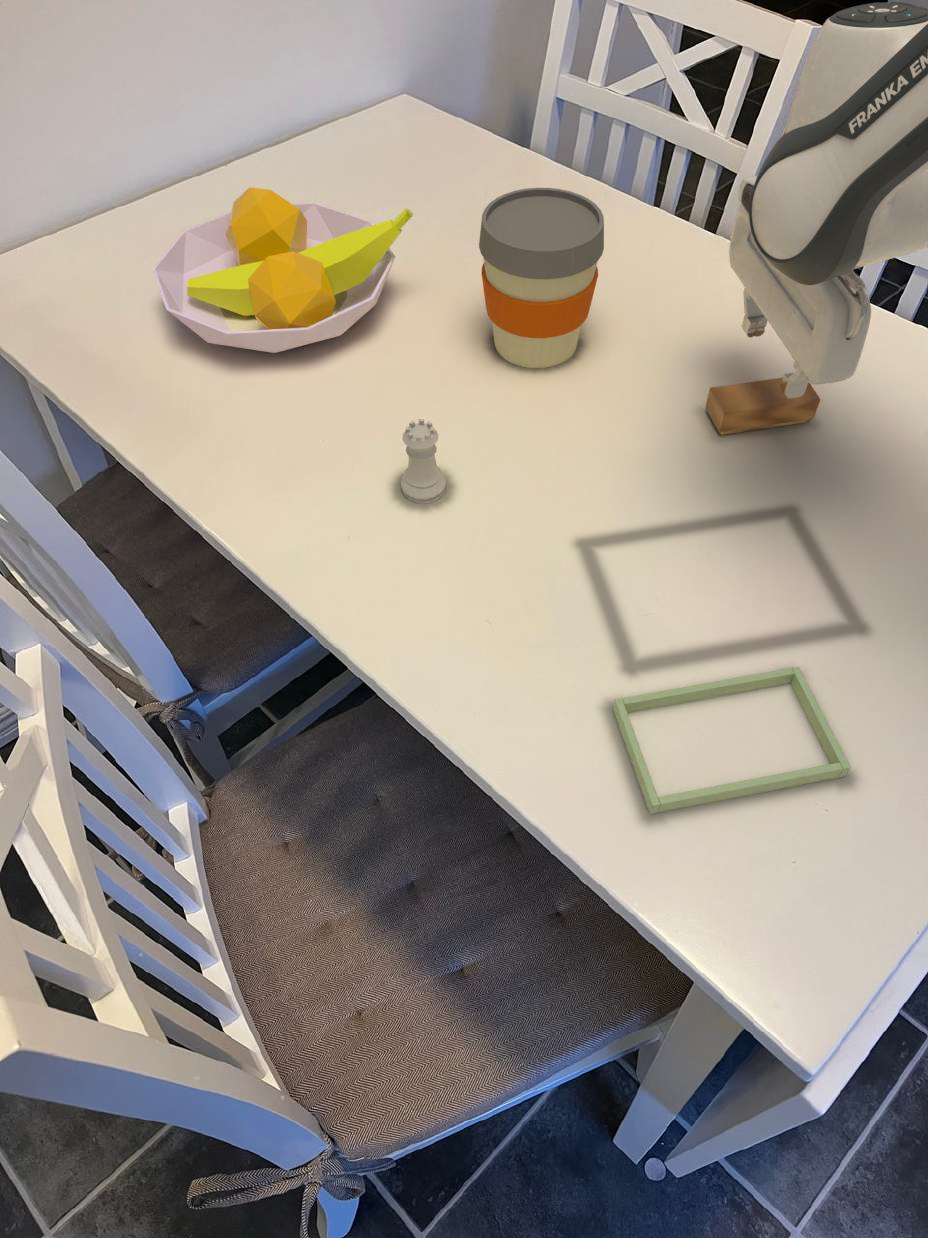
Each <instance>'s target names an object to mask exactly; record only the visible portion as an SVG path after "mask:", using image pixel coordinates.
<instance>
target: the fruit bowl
mask: <svg viewBox="0 0 928 1238" xmlns="http://www.w3.org/2000/svg"><path fill="white" fill-rule="evenodd" d="M413 216H414V213H413V212H412V211H411V210H410V208H406V207H405V208H404V209H403V211H401V212H400V213H399V214H398V216H396V218H395V219H394V220H392V219H389V220H385V221H381V222H379V223H376V224H374V223H373V221H372V220H369V219H367V218H363V217H360V216H357V215H354V214H351V213H347V212H345V211H342V210H338V209H335V208H334V207H333V208H332V207H330V206H326V205H323V204H321V203H317V202H305V203H304V202H302V203H301V202H300V203H291V202H290V201H288V200H286V199H285V198H284V197H283V196H281V195H279V194H278V193H276V192H274V191H273V190H272V189H268V188H258V187H250V186H249V187H248V188H247V189H246V190H245V191H243V193H242V194H240V195H239V196H238V198H236V199H235V200H234V201H233V203H232V207H231V210H230V212H226V213H225V214H222V215H220V216H217V217H215V218H212V219H209V220H207V221H205V222H202V223H200V224H199V223H198V224H197V225H194V226H191V227H189V228H187V229H184V230H182V232H181V233H180V234H179V236H178V237H177V238H176V239H175V241H174V242H173V243H172V244H171V246H170V247H169V248H168V249H167V251H166V252H165V253H164V254H163V255H162V257H161V258H160V259H159V261H158V262H157V263H156V264H155V265H154V267H153V268H152V269H151V270H152V271H151V272H152V273H153V277H154V279H155V282H156V284H157V288H158V290H159V293H160V297H161V298H162V300H163V304H164V307H165V310H166V311H167V312H168V313H170V314H171V315H172V316H173V317H174V318H176V319H177V320H178V321H180V322H181V323H183V324H184V325H185V326H186V327H187V328H189V329H190V330H191V331H192V332H194V333H195V334H196V335H197V336H198V337H200V338H202V339H203V340H204V341H205V342H206V343H208V344H213V345H221V346H226V347H227V346H228V347H232V348H240V349H247V350H253V351H259V352H266V353H272V354H276V353H277V354H278V353H280V352H284V351H287V350H293V349H295V348H299V347H303V346H306V345H310V344H315V343H318V342H321V341H325V340H329V339H333V338H337V337H339V336H342V335H343V334H344V333H345V332H347V331H348V330H349V329H350V328H351V327H352V326H353V325H354V324H355V323H357V322H358V321H359V320H360V319H361V318H362V317H364V316H365V315H366V314H368V312H369V311H371V310H372V309H373V308H374V307H375V306H376V305H377V303H378V301H379V298H380V296H381V293H382V290H383V288H384V285H385V284H386V282H387V281H386V280H387V278H388V276H389V274H390V272H391V269H392V267H393V264H394V261H395V259H396V255H395V254H394V252H393V251H392V250H391V247H392V245H393V244H394V243H395V241H396V240H397V238H398V237H399V236H400V234H401V232H402V231H403V230H402V228H403V227H404V226H405V225H406V224H407V222H408V221H410V219H411V218H412V217H413ZM345 291H346V297H345V299H344V301H343V302H342V305H341V306H340V308H339V309H338V311H337V313H335V314H334V310H335V307H336V304H337V301H336V298H335V296H336V295H339V294H341V293H342V292H343V293H344V292H345ZM222 309H224V310H226V311H230V312H232V313H235V314H238V315H241V316H243V317H249V316H254V317H255V320H256V321H257V322H258V323H259V324H260V325H262V326H263V327H264V328H265V329H256V330H255V329H253V330H236V331H231V330H230V328H229V325H228V323H227V321H226V319H225V315H224V314H223V311H222Z"/></svg>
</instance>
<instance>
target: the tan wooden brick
mask: <svg viewBox="0 0 928 1238" xmlns="http://www.w3.org/2000/svg"><path fill="white" fill-rule="evenodd" d="M782 379H783V377H776V378H769V379H762V380H756V381H749V382H748V381H747V382H741V383H735V384H734V383H733V384H728V385H727V384H726V385H721V386H719V385H718V386H713V387H710V388H709V390H708V394H707V398H706V402H705V410H706V412H707V413H708V415H709V417H710V419H711V421H712V422H713V424H714V426H715V428H716V429H717V431H718V433H719V434H720V435H721V436H722V435H728V434H729V435H730V434H736V433H741V432H749V431H755V430H763V429H769V428H775V427H782V426H789V425H790V426H791V425H795V424H803V423H804V424H805V423H807V421H808V420H813V419H814V418H815V415H816V412H817V410H818V407H819V405H820V402H821V397H820V396H819V395H818V392H816V390H815V389H814V387H813V386H812V384H811V383H810V382H808V385H807V388H806V390H805V393H804V394H803V395H802V396H801V397H796V398H787V397H786V395H785V394H784V392H783V390H782V389H781V387H780V385H781V383H782Z"/></svg>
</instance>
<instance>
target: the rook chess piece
mask: <svg viewBox="0 0 928 1238" xmlns="http://www.w3.org/2000/svg"><path fill="white" fill-rule="evenodd" d="M439 435H440V434H439V433H438V431H437V430H436V429H435V427H434V426H433V423H432V422H431V421H429V420H428V421H427V422H426V423H425V419H422V418H421V419H420V418H419V419H418V422H417V423H416V422H415V421H414V420H411V421H409V422H408V425H406V426H405V431H404V432H403V433H402V441H403V443H404V445H406V448H405V453H406V455H407V456H408V464H407V468H405V471H404V473H403V475H402V477H401V481H400V487H401V490H402V493H403V496H404V498H406V499H407V500H409V501H411V502H413V503H416V504H424V505H425V504H430V503H435V502H436V501H437V500H439V499H441V498H442V497H443V495H444V494H445V492H446V484H447V479H446V478H445V475H444V473H443V471H442V470H441V469H440V467H439V466H438V464H437V459H436V455H435V454H436V453H437V450H438V449H437V446H436V443H437V442H438V441H439Z"/></svg>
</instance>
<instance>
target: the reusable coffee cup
mask: <svg viewBox="0 0 928 1238" xmlns="http://www.w3.org/2000/svg"><path fill="white" fill-rule="evenodd" d="M604 218H605V217H604V214H603V212H602V209H600V208H599V206H598V205H597V204H596V203H595V202H594V201H592V200H591V199H590V198H587V197H586V196H583V195H582V194H579V193H576V192H574V191H570V190H566V189H562V188H553V187H528V188H522V189H517V190H513V191H510V192H506V193H503V194H502V195H499V196H497V197H496V198H495V199H493V200H492V201H490V202H489V203H488V204H487V205H486V206H485V208H484V210H483V212H482V215H481V222H480V223H481V224H480V232H479V240H478V241H479V242H478V249H479V252H480V254H481V256H482V258H483V264H482V265H481V280H482V286H483V288H482V289H483V294H484V303H485V310H486V313H487V316H488V318H489V320H490V321H491V326H492V335H493V341H494V346H495V349H496V351H497V353H498V355H500V357H502V359H504V360H505V361H507V362H508V363H511V364H512V365H515V366H519V367H522V368H528V369H546V368H551V367H556V366H558V365H561V364H563V363H564V362H566V361H568V360H570V358H571V357H572V356H573V355H574V354H575V352H576V349H577V345H578V342H579V337H580V335H581V330H582V326H583V324H584V323H585V322H586V320H587V318H588V317H589V313H590V310H591V306H592V302H593V298H594V294H595V289H596V286H597V281H598V278H599V268H598V262H599V260H600V259H601V257H602V256H603V253H604V249H605V219H604Z"/></svg>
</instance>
